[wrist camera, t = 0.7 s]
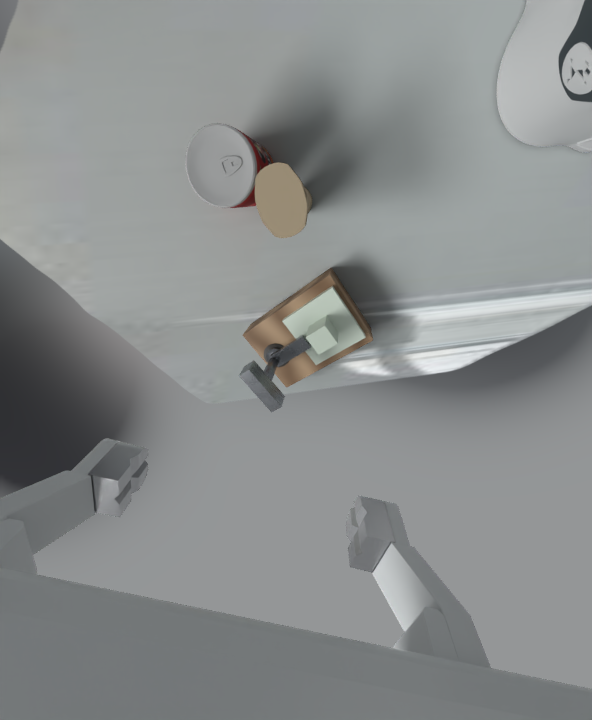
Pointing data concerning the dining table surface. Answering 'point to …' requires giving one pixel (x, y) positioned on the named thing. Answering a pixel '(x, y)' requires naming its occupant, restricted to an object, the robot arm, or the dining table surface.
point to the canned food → (224, 165)
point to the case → (276, 334)
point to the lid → (325, 325)
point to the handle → (282, 200)
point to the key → (272, 372)
